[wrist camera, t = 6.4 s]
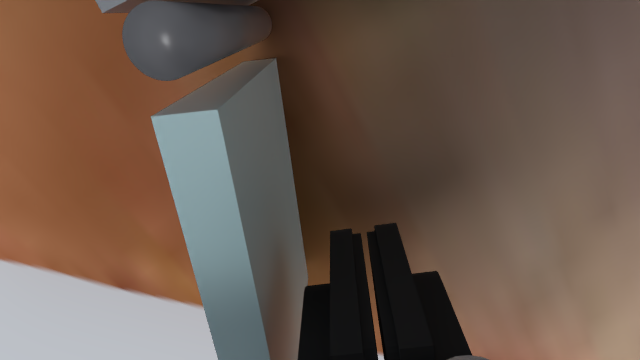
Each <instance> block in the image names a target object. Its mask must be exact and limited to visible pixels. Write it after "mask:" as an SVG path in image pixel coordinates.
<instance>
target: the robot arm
mask: <svg viewBox="0 0 640 360" xmlns="http://www.w3.org/2000/svg"><path fill="white" fill-rule="evenodd" d="M374 228H375V231H373V232H367V238H368V246H369V253H370V261H371V268H372V276H373V283H374V291H375V298H376V306H377V313H378V321H379V327H380V334H381V341H382V347H383V354H384V360H488V359H486V358H483V357H478V356H472V354H471V351H470V349H469V346H468V344H467V341H466V339H465V336H464V334H463V332H462V329H461V327H460V324H459V322H458V319H457V317H456V314H455V312H454V310H453V307H452V305H451V302H450V300H449V297H448V295H447V292H446V290H445V287H444V285H443V283H442V280H441V278H440V275H439V273H438V272H437V271H432V272H424V273H415V274H412V273H411V270H410V267H409V263H408V260H407V257H406V254H405V250H404V247H403V244H402V240H401V237H400V234H399V231H398V227H397V224H396V223H390V224H383V225H375V226H374ZM298 360H378V355H377V347H376V340H375V332H374V325H373V318H372V311H371V303H370V296H369V289H368V282H367V275H366V268H365V261H364V253H363V246H362V239H361V233H357V234H352V229H344V230H336V231H330V283H329V284H321V285H312V286H306V287H305V289H304V297H303V308H302V318H301V329H300V339H299V349H298Z"/></svg>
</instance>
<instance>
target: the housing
mask: <svg viewBox="0 0 640 360" xmlns="http://www.w3.org/2000/svg"><path fill="white" fill-rule="evenodd" d="M95 1H96V2H97V4H98V6H99V8H100V9H101V11H102V13H129V14H128V16H127V17H126V19H125V22H124V25H123V32H122V36H123V44H124V48H125V50H126V53H127V55H128V57H129V58H130V60H131V62H132V63H133V64H134V65H135V66H136V67H137V68H138V69H139V70H140V71H141V72H142V73H144V74H145V75H147V76H149V77H151V78H154V79H157V80H162V81H171V80H176V79H179V78H181V77H183V76H185V75H188V74H190V73H192V72H194V71H197V70H199V69H201V68H203V67H205V66H208V65H210V64H212V63H214V62H216V61H219V60H221V59H223V58H225V57H227V56H230V55H232V54H234V53H236V52H239V51H241V50H243V49H245V48H247V47H250V46H252V45H254V44H256V43H258V42H261V41H263V40H265V39H266V38H267V37H268V36H269V34H270V32H271V29H272V21H271V18H270V16H269V14H268V13H267V12H266V11H265V10H264V9H263V8H261V7H258V6H248V5H250V4H252V3H254V2H257V1H259V0H95Z"/></svg>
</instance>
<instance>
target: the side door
mask: <svg viewBox="0 0 640 360" xmlns="http://www.w3.org/2000/svg"><path fill="white" fill-rule="evenodd" d="M151 119H152V123H153V126H154V130H155V133H156V137H157V141H158V144H159V148H160V151H161V155H162V159H163V162H164V166H165V169H166V173H167V177H168V180H169V184H170V187H171V191H172V195H173V198H174V202H175V206H176V209H177V213H178V216H179V220H180V224H181V227H182V231H183V234H184V238H185V242H186V245H187V249H188V252H189V256H190V260H191V263H192V267H193V270H194V274H195V278H196V281H197V285H198V288H199V292H200V296H201V299H202V303H203V306H204V310H205V313H206V317H207V321H208V324H209V328H210V332H211V335H212V339H213V342H214V346H215V350H216V353H217V357H218V360H298V349H299V339H300V329H301V318H302V308H303V297H304V289H305V287H306V286H308V273H307V266H306V259H305V252H304V246H303V239H302V232H301V225H300V218H299V211H298V205H297V198H296V191H295V184H294V177H293V171H292V164H291V157H290V150H289V143H288V136H287V130H286V123H285V116H284V109H283V102H282V96H281V89H280V82H279V75H278V68H277V62H276V58H272V59H263V60H254V61H245V62H242V63H240V64H239V65H237V66H235V67H234V68H232V69H230V70H228V71H227V72H225V73H223V74H222V75H220V76H218V77H217V78H215V79H213V80H212V81H210V82H208V83H207V84H205V85H203V86H202V87H200V88H198V89H196V90H195V91H193V92H191V93H190V94H188V95H186V96H185V97H183V98H181V99H180V100H178V101H176V102H175V103H173V104H171V105H170V106H168V107H166V108H165V109H163V110H161V111H159V112H158V113H156V114H154V115H153V116H151Z"/></svg>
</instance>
